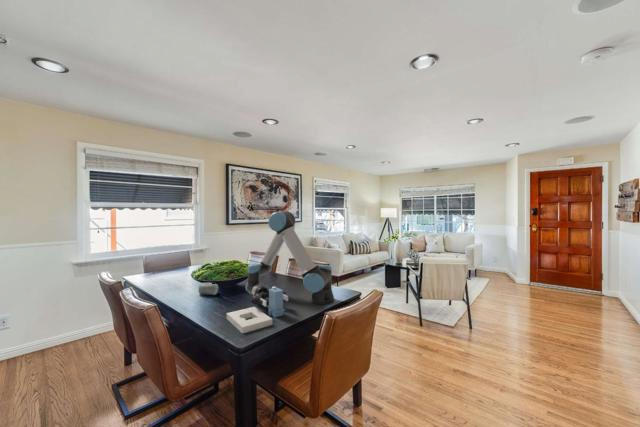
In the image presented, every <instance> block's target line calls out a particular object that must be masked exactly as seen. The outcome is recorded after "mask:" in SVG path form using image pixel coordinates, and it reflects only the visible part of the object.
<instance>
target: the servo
mask: <svg viewBox="0 0 640 427" xmlns="http://www.w3.org/2000/svg"><path fill="white" fill-rule="evenodd" d="M268 291H269V298H268V305H267V306H266V307H267V308H268V309H267V310H268V315H267V316H272V317H274V318H277V317H282V316H284V312H285V311H286V310H285V308H284V299H283V292H284V290H283V289H281V288H278V287H277V286H272V287H271V288H269V289H268Z"/></svg>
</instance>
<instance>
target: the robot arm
mask: <svg viewBox="0 0 640 427" xmlns="http://www.w3.org/2000/svg"><path fill="white" fill-rule="evenodd" d="M295 225H296V217H295V215H294V214H293V213H292V212H290V211H275V212H273V213H271V214H270V216H269V218H268V227H269V228H270V230H272V231H274V232H276V233H275V235H274V236H273V238H272V240H271V242H270V244H269V246H268V248H267V250H266V252H265V253H264V256H263V258H262V260H261V262H260V263H249V264H248V266H247V283H246V284H245V291H246V292H247V293H248V294H250V295H253V304H257V305H258V306H260V305H262V306H263V307H267V306H268V305H267V300H266V298H267V299H269V289H268V288H267V287H266V286H264V285H262V284H261V281H260V280H261V277H262V276H264V275H266V274H269V273H270V272H271V271H272V265H273V263H274V262H275V261H276V258H277V256H278V254H279V252H280V250H281V249H282V247H283V244H284V243H285V244H286V246H287V249H288V250H289V252H290V253H291V255H292V256H293V258H294V260H295V262H296V264H297V266H298V268H300V270H301V275H300V276H301V277H302V279H303V280H302V281H303V282H302V284H303V287H304V288H305V290H306V291H308V292H310V293H311V296H310V302H311V303H312V304H315V305H330V304H333V303H334V302H335V295H334V292H333V290H332V282H333V281H332V279H333V278H332V277H333V276H332V274H333V273H332V272H333V271H332V266H331V265H327V264H316V263H314V261H313V259H312V258H311V256H310V254H309V252H308V251H307V250H306V248H305V246H304V245H303V243H302V241H301V240H300V238H299V236H298V234H297V233H296V231H295ZM283 301H285V302H288V301H289V295H287V294H286V291H283Z"/></svg>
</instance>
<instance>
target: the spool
mask: <svg viewBox="0 0 640 427" xmlns="http://www.w3.org/2000/svg"><path fill="white" fill-rule="evenodd" d="M212 283H213V282H202V283H200V284H199V286H198V294H200V295H208V296H216V295H217V293H218V291H219V285H218V284H216V283H215V284H212Z"/></svg>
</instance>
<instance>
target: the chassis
mask: <svg viewBox="0 0 640 427" xmlns="http://www.w3.org/2000/svg"><path fill="white" fill-rule="evenodd" d="M226 320H228V322H229V323H231V324H232V326H234V327H235V328H236V329H237V330H238V331H239V332H240V333H241V334H245V333H250V332H252V331H256V330H259V329H262V328H267V327H270V326H273V324H274V323H273V318H272V317H270V315H267V314H266V313H264V312H263V311H262V310H260V309H258V308H257V307H255V306H250V307H247V308H244V309H242V308H241V309H239V310H234V311H231V312H226Z"/></svg>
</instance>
